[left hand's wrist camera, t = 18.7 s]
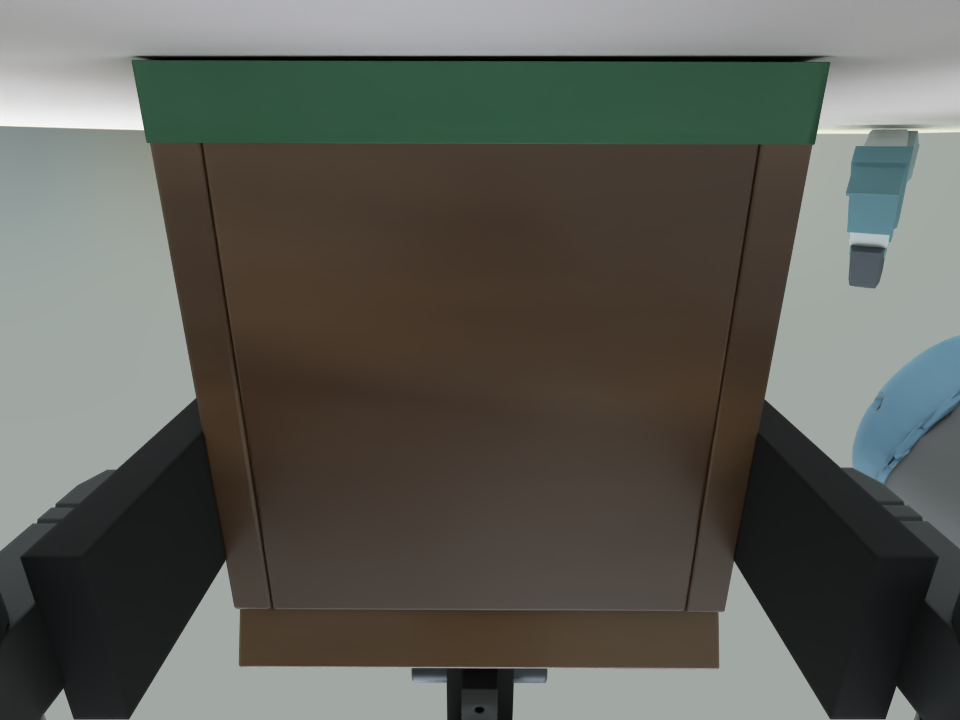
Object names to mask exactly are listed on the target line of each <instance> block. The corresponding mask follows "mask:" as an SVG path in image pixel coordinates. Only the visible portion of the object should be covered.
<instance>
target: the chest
mask: <svg viewBox="0 0 960 720" xmlns="http://www.w3.org/2000/svg"><path fill="white" fill-rule="evenodd" d="M132 65H133V71H134V76H135V81H136V87H137V92H138V98H139V103H140V109H141V114H142V120H143V125H144V130H145V136H146V141H147V143H150V145H151V150H152V156H153V161H154V167H155V173H156V178H157V183H158V189H159V195H160V200H161V205H162V211H163V217H164V222H165V228H166V233H167V238H168V244H169V250H170V255H171V261H172V266H173V271H174V277H175V283H176V288H177V294H178V299H179V305H180V310H181V316H182V321H183V327H184V332H185V338H186V343H187V349H188V354H189V360H190V365H191V371H192V376H193V382H194V387H195V392H196V398H197V404H198V409H199V415H200V420H201V426H202V431H203V437H204V442H205V448H206V453H207V459H208V464H209V470H210V475H211V481H212V486H213V491H214V497H215V502H216V508H217V513H218V519H219V524H220V529H221V535H222V540H223V546H224V551H225V557H226V563H227V569H228V574H229V579H230V585H231V590H232V596H233V601H234V607H235V608H237V609H270V608H271V607H272V606H273V608H274V609H304V610H532V611H684V610H685V609H686V611H688V612H723V611H724V610H725V605H726V600H727V595H728V589H729V584H730V579H731V573H732V568H733V563H734V557H735V552H736V547H737V542H738V536H739V531H740V526H741V520H742V515H743V510H744V504H745V499H746V494H747V488H748V483H749V478H750V473H751V467H752V462H753V457H754V451H755V446H756V441H757V435H758V430H759V425H760V420H761V414H762V409H763V404H764V398H765V393H766V388H767V382H768V377H769V372H770V366H771V361H772V356H773V350H774V345H775V340H776V335H777V329H778V324H779V319H780V313H781V308H782V303H783V298H784V292H785V287H786V282H787V276H788V271H789V266H790V260H791V255H792V250H793V244H794V239H795V234H796V229H797V223H798V218H799V213H800V207H801V202H802V197H803V191H804V186H805V181H806V176H807V170H808V165H809V160H810V154H811V149H812V145H814V144H815V140H816V134H817V129H818V124H819V119H820V113H821V108H822V103H823V98H824V92H825V87H826V82H827V76H828V71H829V66H830V62H613V61H239V60H132Z"/></svg>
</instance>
